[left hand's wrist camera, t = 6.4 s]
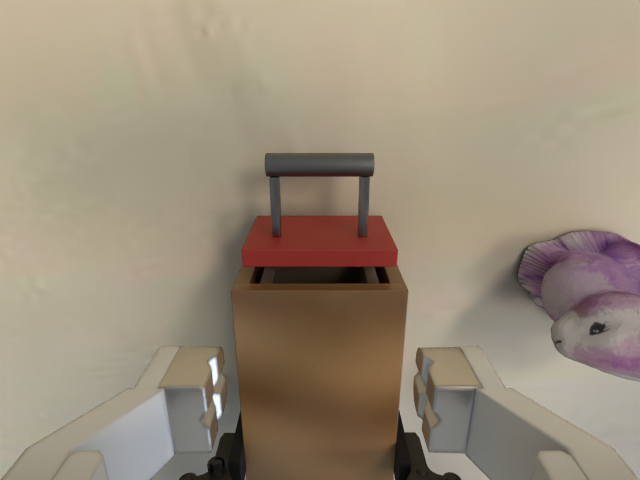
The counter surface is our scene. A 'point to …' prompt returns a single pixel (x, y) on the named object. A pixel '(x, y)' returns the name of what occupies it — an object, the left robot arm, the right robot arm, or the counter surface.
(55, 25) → the counter surface
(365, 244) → the drawer
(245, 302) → the cabinet
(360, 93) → the counter surface
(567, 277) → the figurine
